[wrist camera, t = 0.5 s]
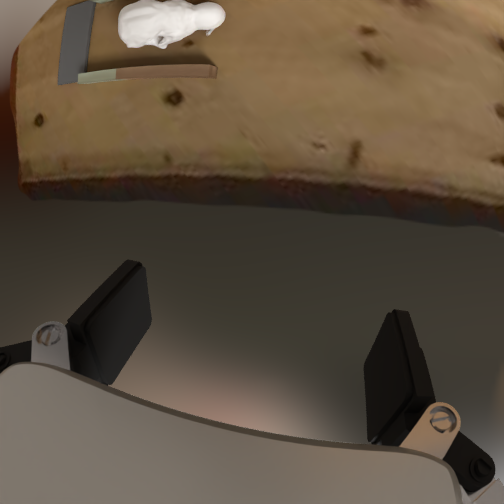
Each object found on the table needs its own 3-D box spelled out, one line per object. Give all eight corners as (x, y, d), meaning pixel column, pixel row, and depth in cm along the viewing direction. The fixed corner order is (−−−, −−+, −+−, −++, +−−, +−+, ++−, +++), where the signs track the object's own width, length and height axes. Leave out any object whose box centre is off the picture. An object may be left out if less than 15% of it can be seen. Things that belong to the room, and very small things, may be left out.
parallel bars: (102, -5, 28) (90, -9, 26) (230, -24, 26) (223, -32, 23) (90, 83, 35) (77, 83, 33) (216, 78, 33) (208, 76, 30)
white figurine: (111, 0, 22) (215, -24, 21) (141, 15, 30) (229, 0, 28) (109, 47, 25) (215, 26, 24) (141, 54, 33) (229, 42, 31)
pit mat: (69, 8, 29) (67, 7, 29) (96, -1, 29) (94, -2, 28) (60, 84, 36) (57, 85, 35) (85, 80, 35) (83, 80, 35)
